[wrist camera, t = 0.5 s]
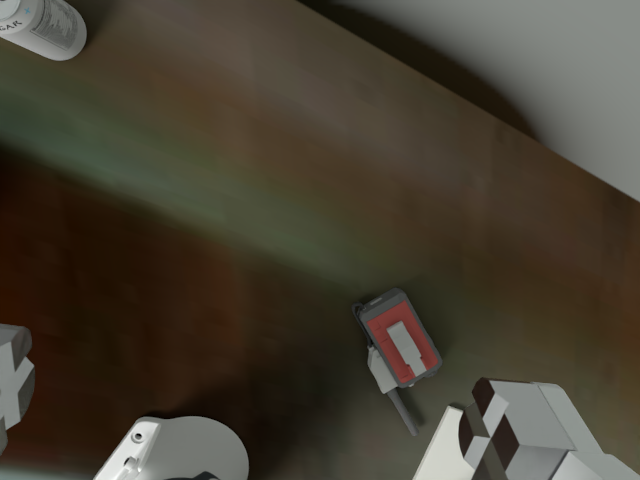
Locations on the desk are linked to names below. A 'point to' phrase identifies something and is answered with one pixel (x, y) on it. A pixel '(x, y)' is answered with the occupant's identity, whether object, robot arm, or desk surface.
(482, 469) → the robot arm
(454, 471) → the mat
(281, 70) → the desk surface
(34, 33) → the energy drink can
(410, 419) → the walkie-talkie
